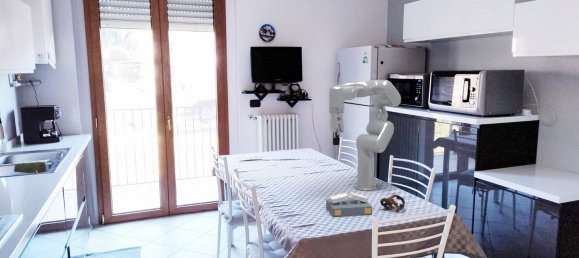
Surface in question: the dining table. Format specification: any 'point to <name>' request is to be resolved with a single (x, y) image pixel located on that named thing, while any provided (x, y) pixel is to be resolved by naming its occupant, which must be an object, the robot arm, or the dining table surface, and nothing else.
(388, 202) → the brown looped piece
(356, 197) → the rocker
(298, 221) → the dining table surface
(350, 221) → the dining table surface
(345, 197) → the rocker
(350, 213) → the switch unit
